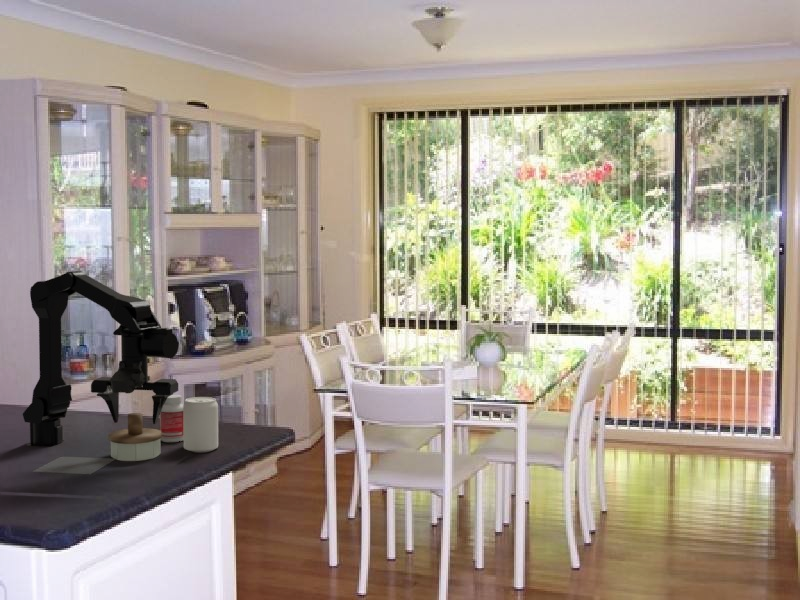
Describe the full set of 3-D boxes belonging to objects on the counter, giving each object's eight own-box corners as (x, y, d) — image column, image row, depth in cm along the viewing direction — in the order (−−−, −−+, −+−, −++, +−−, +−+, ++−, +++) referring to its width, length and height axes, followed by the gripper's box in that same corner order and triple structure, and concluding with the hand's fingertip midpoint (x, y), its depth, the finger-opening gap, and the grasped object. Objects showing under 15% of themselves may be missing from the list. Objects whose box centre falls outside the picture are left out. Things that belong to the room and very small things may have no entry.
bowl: (105, 462, 210) (104, 442, 210) (123, 451, 220) (123, 432, 220) (148, 464, 209) (148, 443, 208) (165, 453, 219) (165, 433, 218)
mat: (32, 474, 199) (32, 471, 199) (61, 459, 212) (61, 456, 212) (90, 476, 198) (90, 474, 198) (116, 461, 211) (116, 458, 211)
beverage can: (188, 454, 217) (188, 403, 216) (179, 447, 225) (179, 397, 224) (222, 451, 221) (222, 401, 220) (212, 444, 228) (212, 395, 227)
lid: (100, 442, 209) (99, 418, 208) (121, 431, 220) (121, 408, 220) (150, 444, 208) (149, 420, 207) (168, 433, 219) (168, 409, 219)
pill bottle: (189, 441, 231) (188, 396, 230) (164, 444, 228) (164, 399, 227) (180, 436, 236) (179, 392, 235) (156, 439, 233) (155, 395, 232)
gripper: (79, 359, 206) (80, 429, 207) (160, 361, 203) (161, 432, 205) (101, 352, 217) (102, 419, 218) (178, 354, 214) (179, 421, 216)
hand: (135, 423), depth 214 cm, fingers open, 9 cm apart
